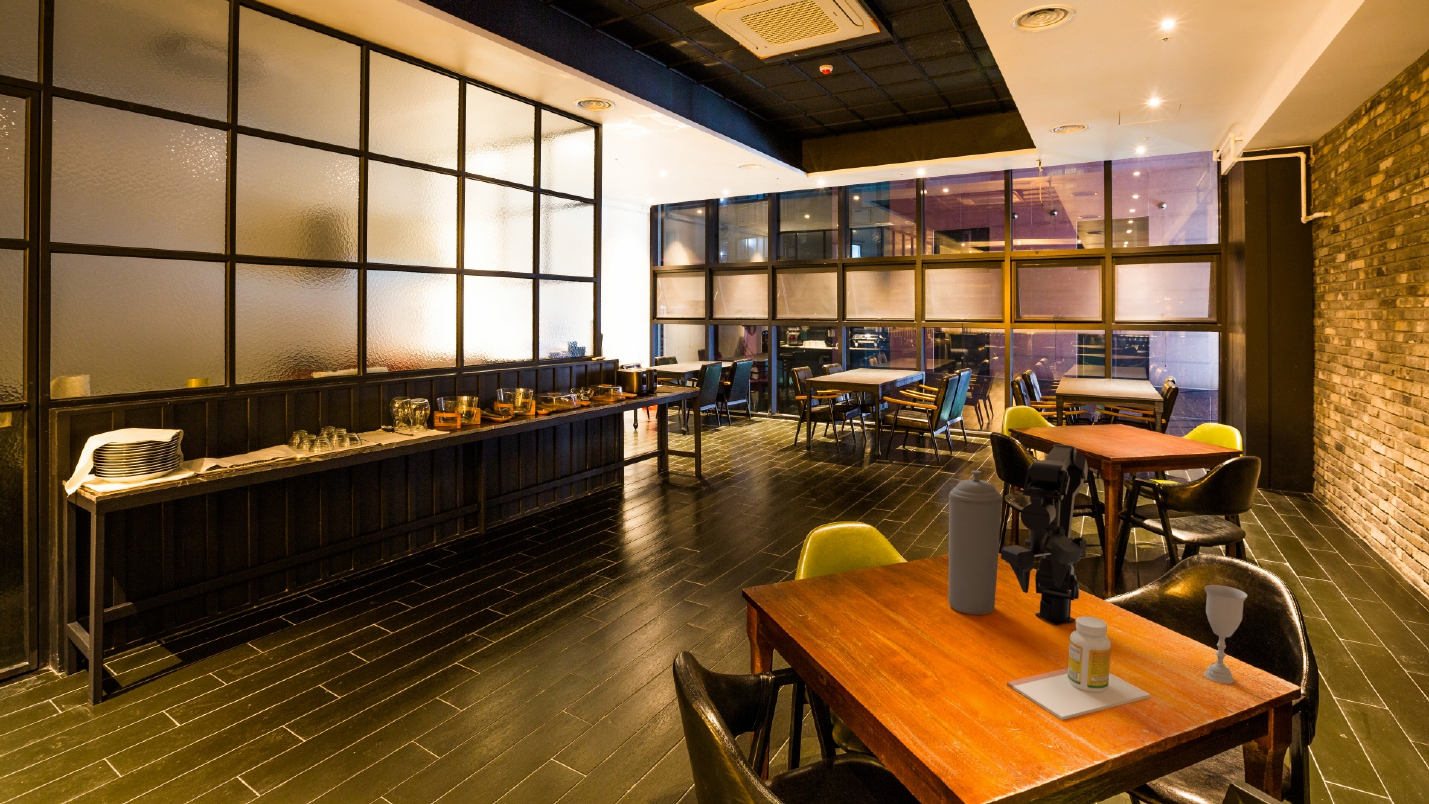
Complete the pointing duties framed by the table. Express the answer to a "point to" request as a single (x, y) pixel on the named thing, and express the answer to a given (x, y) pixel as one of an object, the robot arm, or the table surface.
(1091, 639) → the supplement bottle
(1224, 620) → the chalice
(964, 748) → the table surface
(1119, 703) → the notepad
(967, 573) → the canister
